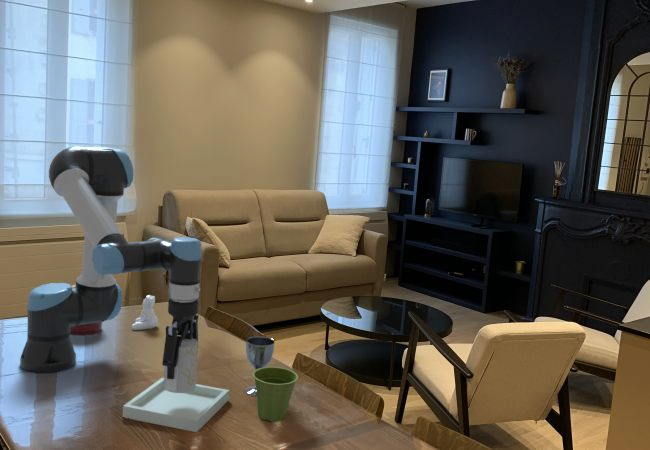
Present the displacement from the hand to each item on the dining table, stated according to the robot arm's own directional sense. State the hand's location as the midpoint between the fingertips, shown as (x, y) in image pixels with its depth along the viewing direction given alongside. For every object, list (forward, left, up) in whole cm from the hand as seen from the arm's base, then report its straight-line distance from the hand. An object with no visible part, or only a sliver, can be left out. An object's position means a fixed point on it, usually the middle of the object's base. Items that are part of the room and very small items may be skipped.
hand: (179, 383), depth 162 cm
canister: (-58, +43, -7) cm, 73 cm away
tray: (0, 0, -7) cm, 7 cm away
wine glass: (+15, +19, -7) cm, 25 cm away
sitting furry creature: (-41, +56, -7) cm, 70 cm away
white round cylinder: (0, 0, -1) cm, 1 cm away
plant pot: (+24, +6, -7) cm, 26 cm away
